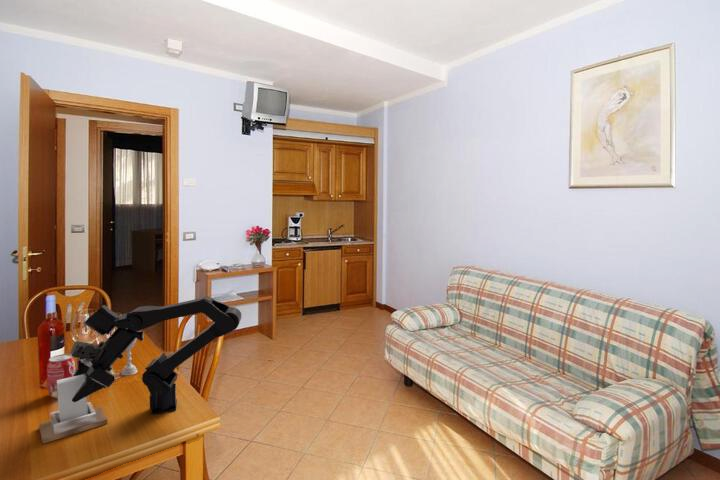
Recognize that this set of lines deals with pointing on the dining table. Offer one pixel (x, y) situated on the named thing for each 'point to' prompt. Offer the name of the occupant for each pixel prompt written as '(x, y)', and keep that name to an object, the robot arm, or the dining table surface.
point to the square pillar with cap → (70, 398)
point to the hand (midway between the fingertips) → (70, 394)
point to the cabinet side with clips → (71, 424)
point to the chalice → (129, 362)
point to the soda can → (59, 371)
